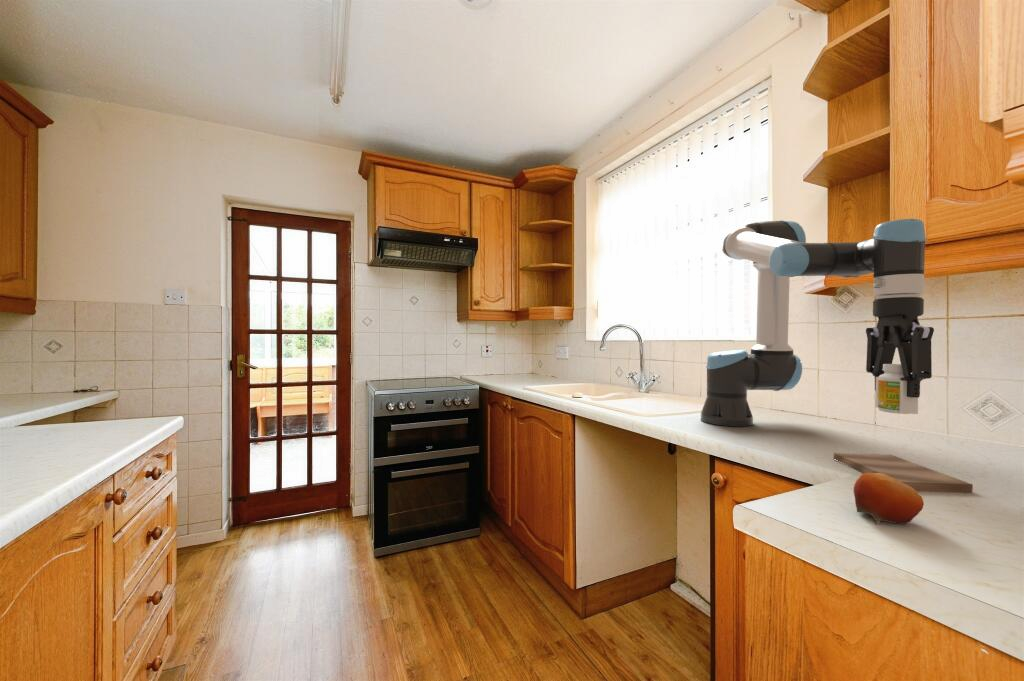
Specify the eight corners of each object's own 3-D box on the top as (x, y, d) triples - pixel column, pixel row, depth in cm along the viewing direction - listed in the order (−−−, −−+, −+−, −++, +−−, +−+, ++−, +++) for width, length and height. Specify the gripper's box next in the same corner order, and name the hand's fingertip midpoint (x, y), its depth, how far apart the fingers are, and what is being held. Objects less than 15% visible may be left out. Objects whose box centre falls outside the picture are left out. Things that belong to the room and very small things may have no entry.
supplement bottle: (882, 412, 82) (883, 365, 81) (873, 408, 86) (874, 363, 86) (918, 415, 79) (919, 366, 79) (907, 410, 84) (908, 364, 84)
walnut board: (833, 459, 92) (833, 453, 92) (890, 461, 91) (890, 454, 91) (899, 489, 75) (899, 481, 75) (972, 492, 73) (972, 484, 73)
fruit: (828, 499, 67) (852, 458, 67) (866, 523, 67) (890, 481, 67) (875, 522, 59) (903, 475, 59) (918, 548, 59) (945, 501, 59)
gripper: (845, 301, 92) (844, 402, 92) (917, 293, 73) (915, 419, 74) (881, 300, 91) (879, 402, 91) (963, 292, 73) (960, 420, 73)
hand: (895, 410), depth 83 cm, fingers closed on supplement bottle, 5 cm apart
